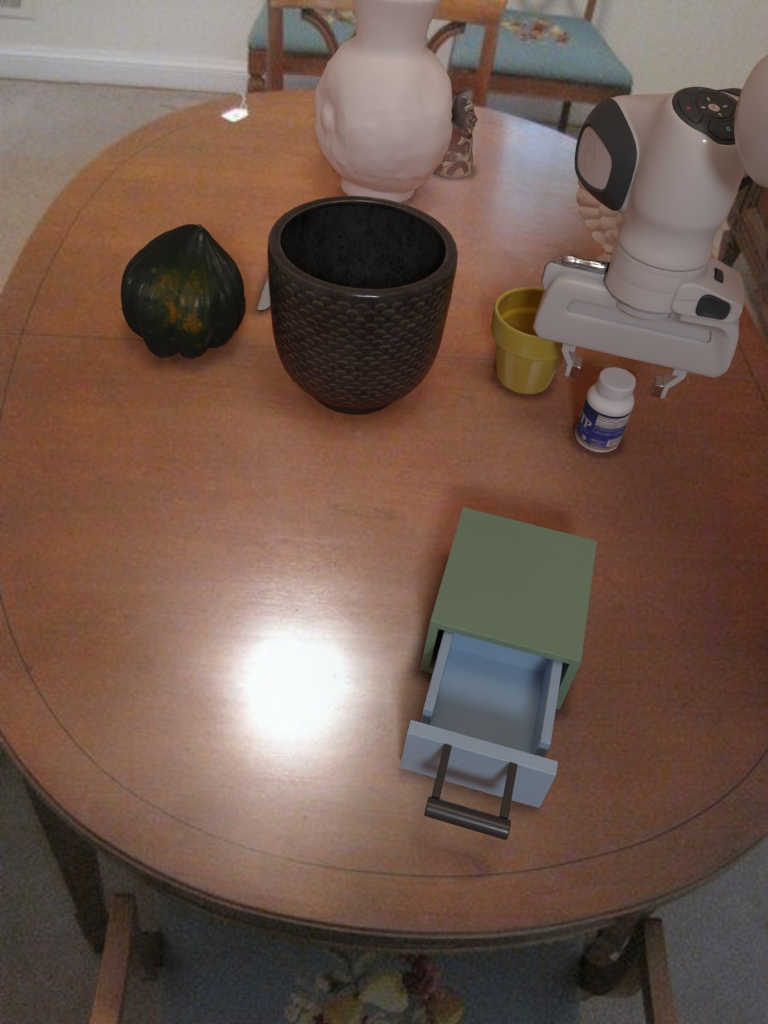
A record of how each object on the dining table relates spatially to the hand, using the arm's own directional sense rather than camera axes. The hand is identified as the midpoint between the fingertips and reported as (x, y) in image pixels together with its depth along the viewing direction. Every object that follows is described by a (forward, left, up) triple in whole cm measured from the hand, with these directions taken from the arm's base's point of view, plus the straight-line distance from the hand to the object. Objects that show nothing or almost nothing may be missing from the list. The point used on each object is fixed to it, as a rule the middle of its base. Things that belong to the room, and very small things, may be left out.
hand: (614, 384), depth 94 cm
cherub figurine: (+1, -35, -8) cm, 36 cm away
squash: (+51, -1, -8) cm, 51 cm away
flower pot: (+10, -8, -8) cm, 15 cm away
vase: (+39, -46, -8) cm, 61 cm away
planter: (+29, +1, -8) cm, 30 cm away
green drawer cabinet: (+6, +30, -8) cm, 32 cm away
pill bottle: (0, 0, -8) cm, 8 cm away
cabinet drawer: (+6, +43, -7) cm, 44 cm away
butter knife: (+46, -21, -8) cm, 51 cm away
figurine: (+30, -59, -8) cm, 67 cm away
